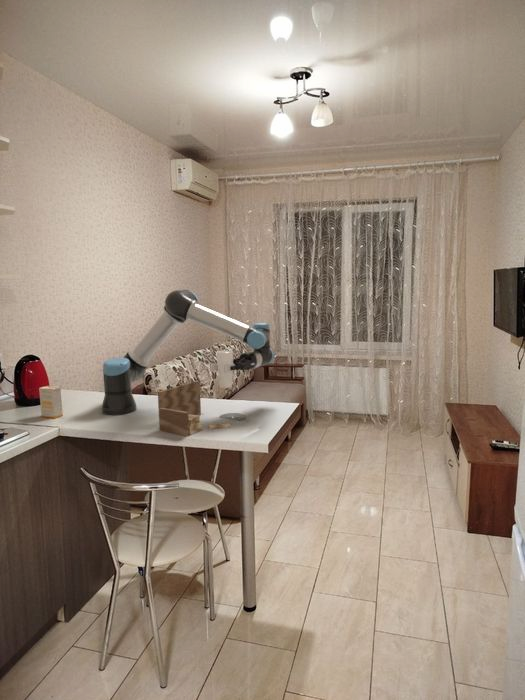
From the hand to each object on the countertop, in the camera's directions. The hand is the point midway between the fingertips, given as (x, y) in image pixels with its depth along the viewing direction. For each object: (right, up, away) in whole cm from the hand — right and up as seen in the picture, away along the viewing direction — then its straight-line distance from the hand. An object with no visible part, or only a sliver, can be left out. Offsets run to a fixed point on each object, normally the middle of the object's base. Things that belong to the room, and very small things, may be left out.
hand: (217, 368), depth 191 cm
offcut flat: (+1, -24, -5) cm, 25 cm away
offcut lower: (-9, -23, -10) cm, 27 cm away
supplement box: (-75, -22, +18) cm, 80 cm away
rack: (-10, -23, -2) cm, 25 cm away
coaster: (+5, -21, +11) cm, 24 cm away
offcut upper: (-10, -20, -10) cm, 25 cm away
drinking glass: (+3, -8, +5) cm, 10 cm away
